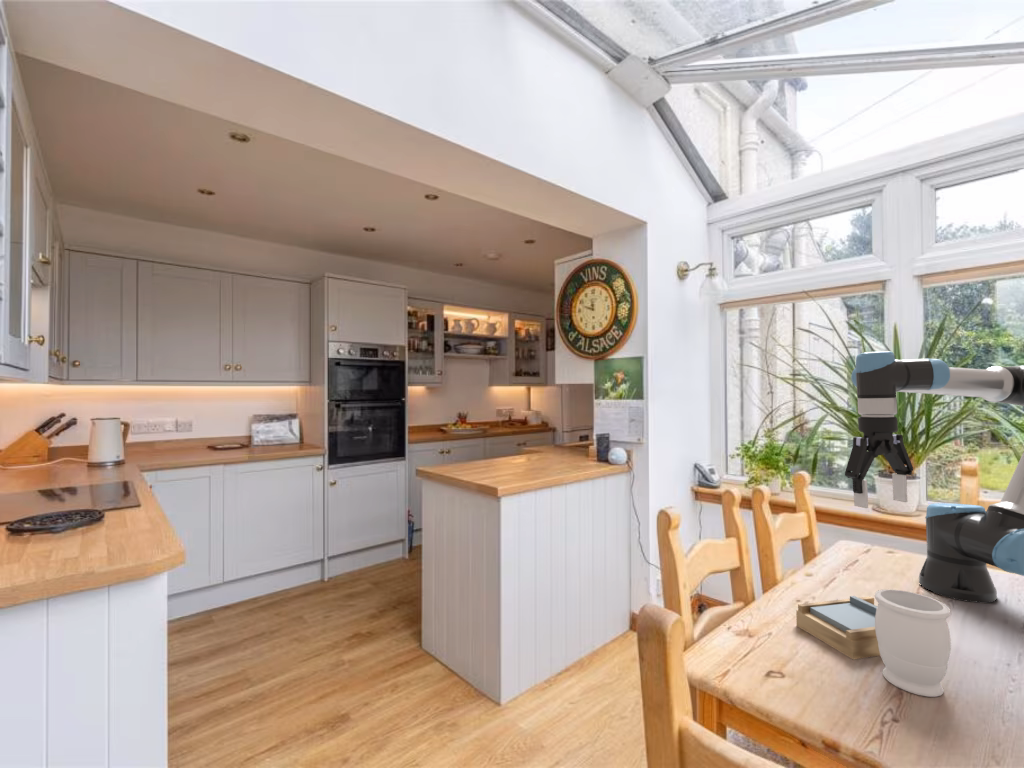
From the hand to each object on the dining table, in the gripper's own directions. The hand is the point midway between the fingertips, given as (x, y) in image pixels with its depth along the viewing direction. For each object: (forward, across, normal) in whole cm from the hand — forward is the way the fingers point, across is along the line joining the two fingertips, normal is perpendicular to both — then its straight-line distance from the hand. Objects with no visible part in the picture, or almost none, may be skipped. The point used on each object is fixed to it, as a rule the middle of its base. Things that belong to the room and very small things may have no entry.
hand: (881, 504), depth 114 cm
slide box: (+26, +16, +6) cm, 31 cm away
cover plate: (+22, +18, +5) cm, 29 cm away
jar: (+26, +25, +20) cm, 41 cm away
